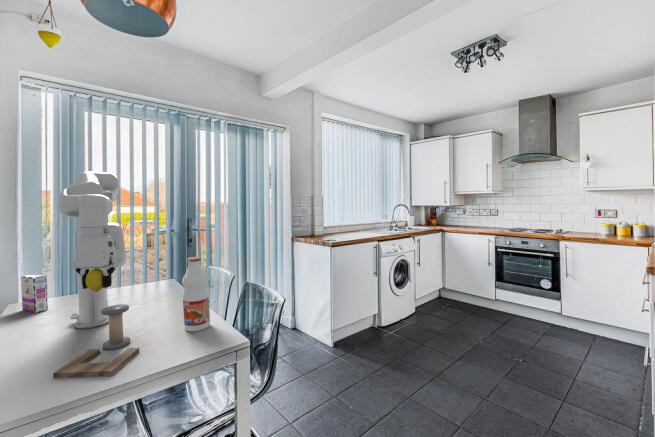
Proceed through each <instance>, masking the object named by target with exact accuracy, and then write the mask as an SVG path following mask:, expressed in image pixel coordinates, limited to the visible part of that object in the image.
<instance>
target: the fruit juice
mask: <svg viewBox="0 0 655 437" xmlns="http://www.w3.org/2000/svg"><path fill="white" fill-rule="evenodd" d="M201 261H202V259H201V257H200V256H192V257H191V256H190V257H188V258H187V259H186V262H187V264H188V265H187V268H186V271H185V273H184V275H183V276H182V281H181V283H182V287H183V291H182V304H183V305H182V308H183V326H184V330H185V331H186V332H193V333H194V332H200V331H204V330H206V329H207V328H208V327H209V326H210V324H211V316H210V315H211V312H210V296H209V288H208V287H207V286H208V285H207V284H208V276H207V274H206V272H205V271H204V270H203V268H202V265H201Z"/></svg>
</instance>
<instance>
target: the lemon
mask: <svg viewBox="0 0 655 437" xmlns="http://www.w3.org/2000/svg"><path fill="white" fill-rule="evenodd" d="M103 276H104V273H103V271H102V269H98V268H94V269H93V270H91V271H90V272H89V273H88V274H87V276H86V286H87V287H88V288H89V289H90V290H93V291H95V292H98V291H99V290H100V289H102V288H103V282H102V277H103Z"/></svg>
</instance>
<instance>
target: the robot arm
mask: <svg viewBox="0 0 655 437" xmlns="http://www.w3.org/2000/svg"><path fill="white" fill-rule="evenodd" d="M73 181H74V183H72V184H69V185H68V186H66V187H65V188H63V189H62V190H61V191H60V193H59V196H58V210H59V213H60V214H61V216H63V217H64V218H68V219H69V218H70V219H72V218H75V226H76V228H75V229H76V239H77V242H76V251H75V252H74V254H73V262H72V263H71V265H70V267H71V269H73V270H74V271H75V273H76V281H77V299H78V312H73V313H71V316H70V318H69V319H70V320H76V321H75V322H74V327H75V328H77V329H90V328H96V327H100V326H104V325H106V324H109V318H108V315H102V314H101V310H102V309H103V308H106V307H109V302H108V300H109V299H108V297H109V296H108V288H109V287H112V283H113V282H112V279H113V278H112V277H113V276H112V275H113V274H114V272H116V270H117V269H118V268H121V267H124V266H125V264H126V262H127V252H126V245H125V237H124V235H125V234H124V232H123V231H124V230H123V228H122V225H121V224H119V223H116V222H109V215H110V214H111V213H112V212H113V203H114V202H116V201H117V199H118V194H119V192H120V181H119V178H118V176H117V175H116V174H115V173H112V172H105V171H103V172H101V171H82V172H79V173H78V174H76V175H75V177H74V180H73ZM94 268H98V269H101V270H102V271H103V273H104V276H103V277H102V282H103V288H102V289H100V290H99V291H98V292H95V291H93V290H90V289H89V288H88V287H87V286H86V276H87V274H88V273H89V272H90V271H91V270H93V269H94Z"/></svg>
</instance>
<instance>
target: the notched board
mask: <svg viewBox="0 0 655 437" xmlns="http://www.w3.org/2000/svg"><path fill="white" fill-rule="evenodd" d="M139 353H140V347H128V348H126V349H125V350H123V352H121V353H120V354H118V355H117V356H116V357H114V359H113V360H111V361H108V362H104V361H103V362H90V361H92V360H93V359H95V358H96V357H97V356H99V355H100V354H101V348H89V349H87V350H86V351H84V352H83V353H81V354H79V355H78V356H76V357H75V358H73V359H72V360H70V361H69V362H67V363H66V364H64V365H63V366H61V367H60V368H58V369H57V370H56V371H54V372H52V378H53V379H68V378H69V379H70V378H92V377H93V378H94V377H99V378H100V377H112V376H113V375H114V374H116V373H117V372H118V371H119V370H120V369H122V368H123V367H124V366H125V365H126V364H127V363H128V362H130V361H131V360H132V359H133V358H134V357H135V356H136V355H138V354H139Z"/></svg>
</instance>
